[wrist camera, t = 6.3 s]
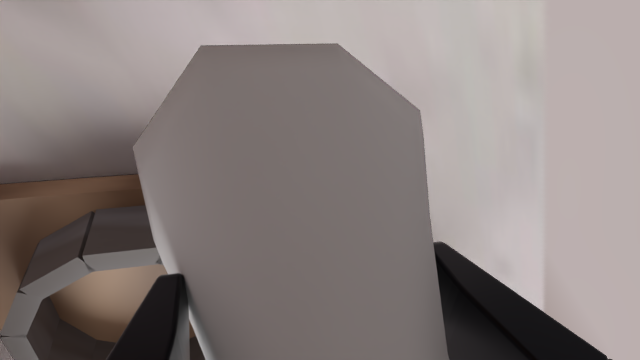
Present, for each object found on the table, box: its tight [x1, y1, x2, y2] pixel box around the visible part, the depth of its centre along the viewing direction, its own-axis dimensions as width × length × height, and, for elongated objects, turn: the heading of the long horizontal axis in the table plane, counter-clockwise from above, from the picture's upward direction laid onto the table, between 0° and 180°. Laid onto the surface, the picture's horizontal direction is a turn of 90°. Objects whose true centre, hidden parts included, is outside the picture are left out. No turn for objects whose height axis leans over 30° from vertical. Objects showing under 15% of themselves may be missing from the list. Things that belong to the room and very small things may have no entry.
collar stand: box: [0, 174, 206, 360], centre depth 23 cm, size 16×14×4 cm
